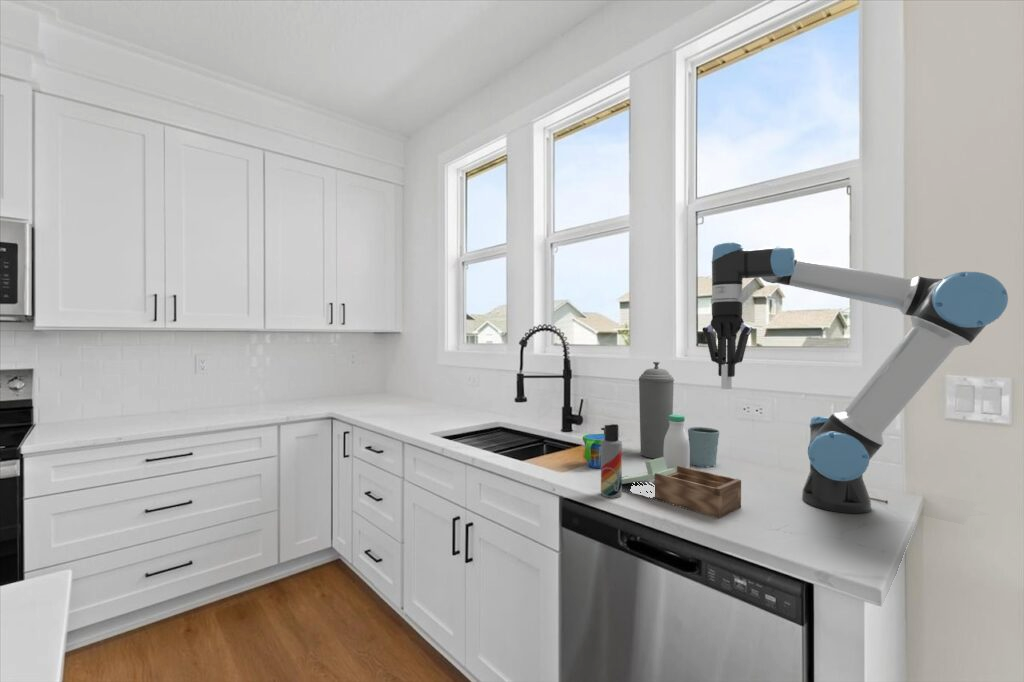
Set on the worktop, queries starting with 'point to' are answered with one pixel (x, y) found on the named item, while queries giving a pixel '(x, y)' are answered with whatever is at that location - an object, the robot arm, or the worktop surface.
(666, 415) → the canister
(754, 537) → the worktop surface
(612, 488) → the lotion bottle
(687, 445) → the milk bottle
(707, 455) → the teal cup
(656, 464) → the lid
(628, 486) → the mat
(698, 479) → the walnut box
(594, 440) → the snack cup
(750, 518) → the worktop surface
